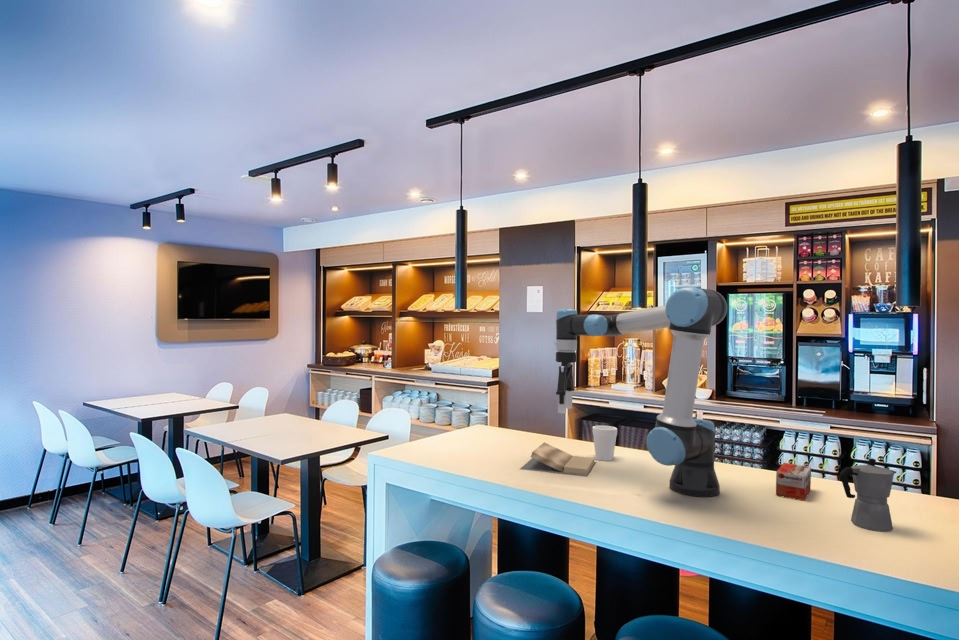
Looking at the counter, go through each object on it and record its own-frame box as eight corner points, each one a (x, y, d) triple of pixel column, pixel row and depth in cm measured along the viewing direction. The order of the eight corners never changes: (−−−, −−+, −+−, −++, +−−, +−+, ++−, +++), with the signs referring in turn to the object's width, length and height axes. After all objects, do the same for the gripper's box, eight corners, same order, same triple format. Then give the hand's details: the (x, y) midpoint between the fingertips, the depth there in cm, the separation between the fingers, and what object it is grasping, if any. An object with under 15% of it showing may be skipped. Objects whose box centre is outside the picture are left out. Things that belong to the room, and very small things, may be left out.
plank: (571, 460, 209) (573, 455, 208) (561, 471, 192) (563, 466, 191) (542, 446, 212) (544, 442, 212) (530, 457, 196) (532, 451, 195)
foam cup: (617, 464, 208) (618, 430, 208) (592, 463, 209) (593, 429, 209) (615, 459, 217) (615, 426, 217) (591, 457, 218) (592, 425, 219)
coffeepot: (881, 519, 152) (881, 454, 152) (909, 532, 143) (910, 463, 143) (827, 519, 151) (828, 454, 151) (852, 532, 142) (853, 462, 142)
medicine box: (805, 501, 167) (805, 475, 167) (775, 496, 172) (775, 471, 172) (811, 490, 179) (811, 466, 179) (783, 485, 184) (783, 462, 184)
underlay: (596, 464, 207) (596, 456, 207) (587, 479, 187) (587, 470, 187) (534, 458, 215) (534, 450, 215) (519, 471, 195) (519, 463, 195)
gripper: (562, 350, 213) (561, 405, 213) (549, 352, 191) (547, 414, 190) (581, 350, 211) (580, 407, 210) (570, 353, 188) (569, 416, 188)
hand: (565, 410), depth 200 cm, fingers open, 12 cm apart
